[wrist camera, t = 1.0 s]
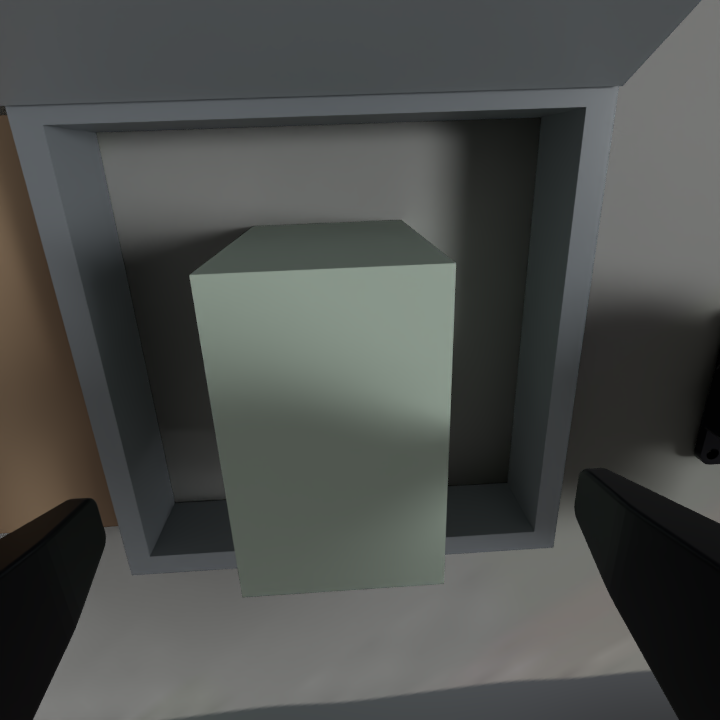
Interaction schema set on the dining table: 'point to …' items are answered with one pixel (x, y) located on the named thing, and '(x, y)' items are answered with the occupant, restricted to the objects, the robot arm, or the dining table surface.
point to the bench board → (37, 373)
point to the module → (331, 402)
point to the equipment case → (317, 107)
